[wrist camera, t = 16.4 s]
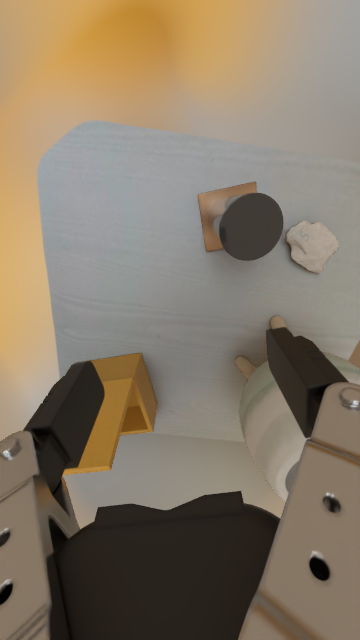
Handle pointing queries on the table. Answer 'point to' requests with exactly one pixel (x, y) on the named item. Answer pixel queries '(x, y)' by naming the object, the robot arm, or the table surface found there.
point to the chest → (142, 393)
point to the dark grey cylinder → (246, 224)
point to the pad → (208, 201)
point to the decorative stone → (311, 245)
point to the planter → (275, 420)
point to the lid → (106, 428)
